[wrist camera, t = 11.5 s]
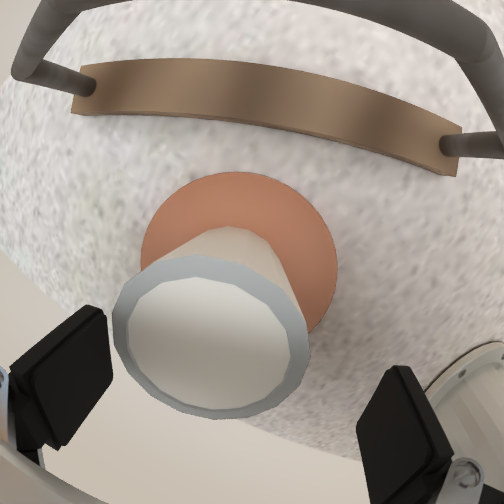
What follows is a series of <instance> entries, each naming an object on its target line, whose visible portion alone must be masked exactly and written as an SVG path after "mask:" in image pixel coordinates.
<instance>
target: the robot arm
mask: <svg viewBox="0 0 504 504" xmlns="http://www.w3.org/2000/svg"><path fill="white" fill-rule="evenodd" d="M9 367H10V370H11V372H10V373H9V374H7V372H6V371H5V370H4V369H3V368H2V367H0V504H108V503H105V502H103V501H101V500H99V499H97V498H95V497H93V496H91V495H89V494H87V493H85V492H83V491H81V490H79V489H77V488H75V487H73V486H72V485H70V484H68V483H66V482H65V481H63V480H61V479H59V478H58V477H56V476H54V475H53V474H51V473H49V472H48V471H46V470H45V464H44V459H43V453H42V446H43V445H44V444H45V443H46V444H47V445H48V446H50V447H52V448H53V449H55V450H57V451H58V450H59V449H60V447H61V446H66V445H67V444H68V443H69V441H70V440H71V438H72V437H73V435H74V434H75V433H76V431H77V430H78V428H79V427H80V426H81V424H82V422H83V421H84V420H85V418H86V417H87V416H88V414H89V413H90V411H91V410H92V409H93V407H94V406H95V405H96V403H97V402H98V400H99V399H100V398H101V396H102V395H103V394H104V392H105V391H106V389H107V388H108V387H109V385H110V384H111V382H112V380H113V369H112V363H111V354H110V346H109V336H108V325H107V317H106V315H104V313H103V311H102V309H100V308H97V307H94V306H91V305H85V306H83V307H82V308H81V309H79V310H78V311H77V312H75V313H74V314H73V315H71V316H70V317H69V318H68V319H66V320H65V321H64V322H63V323H61V324H60V325H59V326H58V327H56V328H55V329H54V330H53V331H51V332H50V333H49V334H48V335H46V336H45V337H44V338H43V339H41V340H40V341H39V342H38V343H37V344H35V345H34V346H33V347H32V348H31V349H29V350H28V351H27V352H26V353H25V354H24V355H22V356H21V357H20V358H19V359H18V360H16V361H15V362H14V363H13V364H12V365H11V366H9ZM356 434H357V438H358V443H359V447H360V452H361V457H362V462H363V467H364V472H365V476H366V482H367V488H368V492H369V498H370V504H504V343H501V342H493V343H489V344H486V345H483V346H481V347H479V348H477V349H475V350H473V351H471V352H470V353H468V354H467V355H465V356H463V357H462V358H461V359H460V360H458V361H457V362H456V363H454V364H453V365H452V366H451V367H450V368H448V369H447V370H446V371H445V372H444V373H443V374H442V375H441V376H440V377H439V378H438V379H437V380H436V381H435V382H434V383H433V384H432V385H431V386H430V388H429V389H428V390H427V391H426V392H425V393H424V391H423V389H422V388H421V386H420V384H419V382H418V380H417V379H416V377H415V375H414V373H413V371H412V370H411V368H410V367H409V366H398V365H394V366H392V367H391V368H390V369H388V370H386V372H385V373H384V375H383V377H382V379H381V381H380V383H379V385H378V387H377V389H376V391H375V392H374V394H373V396H372V398H371V400H370V401H369V403H368V405H367V407H366V408H365V410H364V412H363V414H362V415H361V417H360V419H359V420H358V422H357V425H356Z"/></svg>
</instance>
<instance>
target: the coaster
mask: <svg viewBox="0 0 504 504" xmlns="http://www.w3.org/2000/svg"><path fill="white" fill-rule="evenodd" d="M226 226H231V227H237V228H242V229H247V230H250V231H252V232H253V233H255V234H256V235H258V236H259V237H261V238H263V239H264V240H266V241H267V242H268V243H269V245H270V246H271V248H272V249H273V251H274V252H275V254H276V255H277V256H278V258H279V260H280V262H281V264H282V267H283V269H284V271H285V274H286V276H287V278H288V281H289V283H290V285H291V288H292V290H293V293H294V295H295V297H296V300H297V302H298V304H299V307H300V309H301V312H302V314H303V316H304V319H305V321H306V325H307V332H308V333H309V332H310V331H312V329H313V328H314V327H315V326H316V325H317V324H318V323H319V321H320V320H321V318H322V317H323V315H324V314H325V312H326V311H327V309H328V306H329V304H330V302H331V300H332V297H333V294H334V291H335V286H336V280H337V257H336V251H335V247H334V243H333V239H332V237H331V235H330V232H329V230H328V228H327V226H326V224H325V222H324V221H323V219H322V217H321V216H320V215H319V213H318V212H317V211H316V210H315V208H314V207H313V206H312V205H311V204H310V203H309V202H308V201H307V200H306V199H305V198H304V197H303V196H302V195H300V194H299V193H298V192H296V191H295V190H293V189H292V188H290V187H289V186H287V185H285V184H283V183H281V182H279V181H277V180H275V179H272V178H269V177H267V176H264V175H259V174H254V173H247V172H228V173H219V174H214V175H210V176H206V177H203V178H200V179H198V180H195V181H193V182H191V183H189V184H187V185H186V186H184V187H182V188H180V189H179V190H178V191H176V192H175V193H174V194H173V195H171V196H170V197H169V198H168V199H167V200H166V201H165V202H164V203H163V204H162V205H161V207H160V208H159V209H158V211H157V212H156V213H155V215H154V216H153V218H152V220H151V222H150V224H149V226H148V228H147V231H146V234H145V236H144V240H143V245H142V250H141V271H143V270H144V269H145V268H147V267H148V266H149V265H151V264H152V263H153V262H155V261H157V260H158V259H160V258H161V257H163V256H165V255H166V254H168V253H170V252H171V251H173V250H175V249H176V248H178V247H180V246H182V245H183V244H185V243H187V242H188V241H190V240H192V239H193V238H195V237H197V236H199V235H200V234H202V233H204V232H205V231H207V230H211V229H216V228H221V227H226Z"/></svg>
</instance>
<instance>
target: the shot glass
mask: <svg viewBox="0 0 504 504" xmlns="http://www.w3.org/2000/svg"><path fill="white" fill-rule="evenodd" d="M112 325H113V339H114V346H115V348H116V350H117V352H118V354H119V356H120V358H121V360H122V362H123V364H124V366H125V368H126V370H127V372H128V373H129V374H130V375H131V376H132V377H133V378H134V379H135V380H136V381H137V382H138V383H139V384H140V385H141V386H142V387H143V388H144V389H145V390H146V391H147V392H148V393H149V394H150V395H151V396H152V397H154V398H156V399H157V400H159V401H161V402H163V403H165V404H167V405H169V406H170V407H172V408H174V409H176V410H178V411H180V412H183V413H187V414H191V415H195V416H199V417H204V418H209V419H213V420H217V419H237V418H248V417H250V416H253V415H256V414H258V413H261V412H264V411H266V410H269V409H271V408H274V407H276V406H278V405H279V404H280V403H281V402H282V401H283V400H284V399H285V398H286V397H288V396H289V395H290V394H291V393H292V392H293V391H294V390H295V389H296V388H297V387H298V386H299V385H300V383H301V380H302V378H303V375H304V373H305V370H306V368H307V365H308V362H309V360H310V357H311V355H310V347H309V340H308V332H307V325H306V321H305V319H304V316H303V314H302V312H301V309H300V307H299V304H298V302H297V300H296V297H295V295H294V293H293V290H292V288H291V285H290V283H289V281H288V278H287V276H286V274H285V271H284V269H283V267H282V264H281V262H280V260H279V258H278V256H277V255H276V254H275V252H274V251H273V249H272V248H271V246H270V245H269V243H268V242H267V241H266V240H264V239H263V238H261V237H259V236H258V235H256V234H255V233H253V232H252V231H250V230H247V229H242V228H237V227H231V226H226V227H221V228H216V229H211V230H207V231H205V232H204V233H202V234H200V235H199V236H197V237H195V238H193V239H192V240H190V241H188V242H187V243H185V244H183V245H182V246H180V247H178V248H176V249H175V250H173V251H171V252H170V253H168V254H166V255H165V256H163V257H161V258H160V259H158V260H157V261H155V262H153V263H152V264H151V265H149V266H148V267H147V268H145V269H144V270H143V271H141V272H140V273H139V274H137V275H136V276H135V277H133V278H132V279H131V280H129V281H128V282H127V283H126V284H124V287H123V289H122V291H121V293H120V296H119V298H118V300H117V303H116V305H115V307H114V310H113V312H112Z"/></svg>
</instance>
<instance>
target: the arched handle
mask: <svg viewBox="0 0 504 504" xmlns="http://www.w3.org/2000/svg"><path fill="white" fill-rule="evenodd" d="M125 1H131V0H42V1H41V2H40V4H39V6H38V8H37V10H36V12H35V14H34V16H33V18H32V20H31V22H30V24H29V26H28V28H27V30H26V33H25V35H24V37H23V39H22V41H21V44H20V46H19V49H18V51H17V54H16V56H15V59H14V62H13V64H12V68H11V75H12V77H13V78H14V79H15V80H17V81H21V82H26V83H31V84H35V85H40V86H44V87H48V88H52V89H56V90H60V91H64V92H68V93H71V94H74V98H73V103H72V108H71V113H73V114H79V115H84V116H88V115H158V116H176V117H190V118H202V119H212V120H221V121H229V122H237V123H244V124H251V125H257V126H264V127H270V128H275V129H281V130H286V131H291V132H296V133H301V134H306V135H311V136H315V137H320V138H324V139H328V140H332V141H336V142H340V143H344V144H348V145H352V146H356V147H359V148H363V149H366V150H370V151H373V152H377V153H380V154H383V155H386V156H390V157H393V158H396V159H399V160H402V161H405V162H408V163H411V164H413V165H416V166H419V167H422V168H425V169H427V170H430V171H433V172H435V173H438V174H440V175H444V176H452V177H456V174H457V168H458V161H459V157H474V158H493V159H504V58H503V55H502V53H501V50H500V48H499V45H498V43H497V41H496V39H495V36H494V34H493V32H492V31H491V29H490V28H489V27H488V25H487V24H486V23H485V22H484V21H482V20H481V19H480V18H479V17H477V16H476V15H474V14H473V13H471V12H470V11H468V10H467V9H465V8H463V7H462V6H460V5H458V4H457V3H455V2H453V1H452V0H289V1H295V2H301V3H306V4H311V5H316V6H320V7H325V8H329V9H333V10H337V11H340V12H344V13H348V14H351V15H354V16H358V17H361V18H364V19H367V20H370V21H373V22H376V23H379V24H381V25H384V26H387V27H389V28H392V29H395V30H397V31H400V32H402V33H404V34H407V35H409V36H411V37H414V38H416V39H418V40H420V41H422V42H424V43H426V44H429V45H431V46H433V47H435V48H437V49H438V50H440V51H442V52H444V53H446V54H448V55H450V56H452V57H453V58H455V60H456V61H457V63H458V64H459V66H460V67H461V69H462V70H463V72H464V73H465V75H466V76H467V78H468V80H469V81H470V83H471V85H472V86H473V88H474V90H475V91H476V93H477V95H478V96H479V98H480V100H481V102H482V104H483V106H484V107H485V109H486V111H487V113H488V115H489V117H490V119H491V121H492V123H493V125H494V127H495V129H496V131H491V132H475V133H463V134H462V127H460V126H458V125H456V124H454V123H452V122H450V121H448V120H446V119H444V118H442V117H440V116H438V115H436V114H433V113H431V112H429V111H427V110H424V109H422V108H420V107H417V106H415V105H413V104H410V103H408V102H405V101H402V100H400V99H397V98H395V97H392V96H389V95H386V94H383V93H380V92H378V91H375V90H371V89H368V88H365V87H362V86H359V85H355V84H352V83H348V82H345V81H341V80H338V79H334V78H330V77H326V76H322V75H317V74H313V73H308V72H304V71H299V70H293V69H288V68H282V67H276V66H270V65H263V64H256V63H248V62H238V61H228V60H214V59H191V58H160V59H138V60H124V61H114V62H105V63H97V64H90V65H84V66H81V69H80V72H76V71H74V70H71V69H68V68H66V67H63V66H60V65H58V64H55V63H52V62H49V61H46V60H43V58H44V56H45V55H46V53H47V52H48V51H49V49H50V48H51V47H52V46H53V44H54V43H55V42H56V40H57V39H58V38H59V37H60V36H61V34H62V33H63V32H64V31H65V30H66V28H67V27H68V26H69V25H70V24H71V23H72V22H73V20H74V19H75V18H76V17H77V16H78V15H79V14H80V13H81V12H82V11H85V10H89V9H93V8H97V7H101V6H105V5H110V4H115V3H120V2H125Z"/></svg>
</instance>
